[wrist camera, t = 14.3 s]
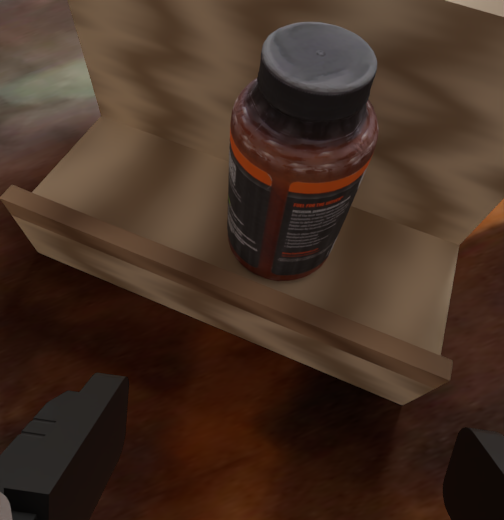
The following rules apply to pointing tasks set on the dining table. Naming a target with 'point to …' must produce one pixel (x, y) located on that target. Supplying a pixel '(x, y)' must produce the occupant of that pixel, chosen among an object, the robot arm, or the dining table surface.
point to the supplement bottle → (299, 148)
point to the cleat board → (216, 177)
